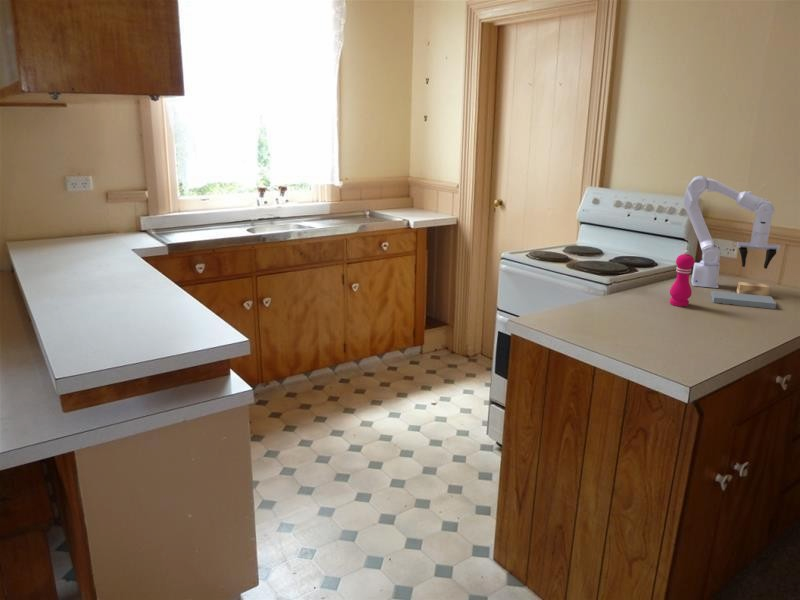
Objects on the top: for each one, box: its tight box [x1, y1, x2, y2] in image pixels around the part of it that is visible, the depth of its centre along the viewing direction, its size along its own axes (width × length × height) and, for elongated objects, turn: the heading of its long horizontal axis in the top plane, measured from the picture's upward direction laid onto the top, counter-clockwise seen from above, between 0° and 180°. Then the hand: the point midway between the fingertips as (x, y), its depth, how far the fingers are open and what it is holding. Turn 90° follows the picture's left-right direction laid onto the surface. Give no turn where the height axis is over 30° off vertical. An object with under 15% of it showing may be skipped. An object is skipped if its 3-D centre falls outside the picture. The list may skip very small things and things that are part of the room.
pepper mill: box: [669, 249, 695, 307], centre depth 225 cm, size 7×7×20 cm
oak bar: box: [735, 281, 771, 296], centre depth 240 cm, size 10×5×4 cm, turn 72°
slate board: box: [710, 290, 777, 310], centre depth 231 cm, size 20×10×2 cm, turn 70°
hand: (754, 267), depth 245 cm, fingers open, 7 cm apart
